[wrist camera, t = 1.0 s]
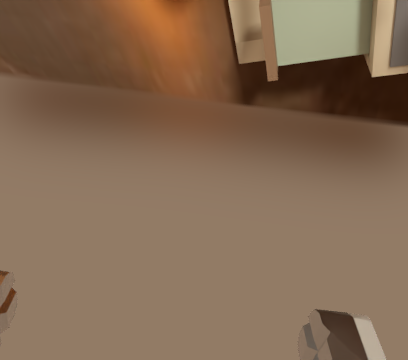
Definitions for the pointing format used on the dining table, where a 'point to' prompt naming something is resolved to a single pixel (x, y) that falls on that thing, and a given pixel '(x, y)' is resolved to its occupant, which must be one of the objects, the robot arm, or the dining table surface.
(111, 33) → the dining table surface
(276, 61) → the cover
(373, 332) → the robot arm
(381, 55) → the beige stepped box
